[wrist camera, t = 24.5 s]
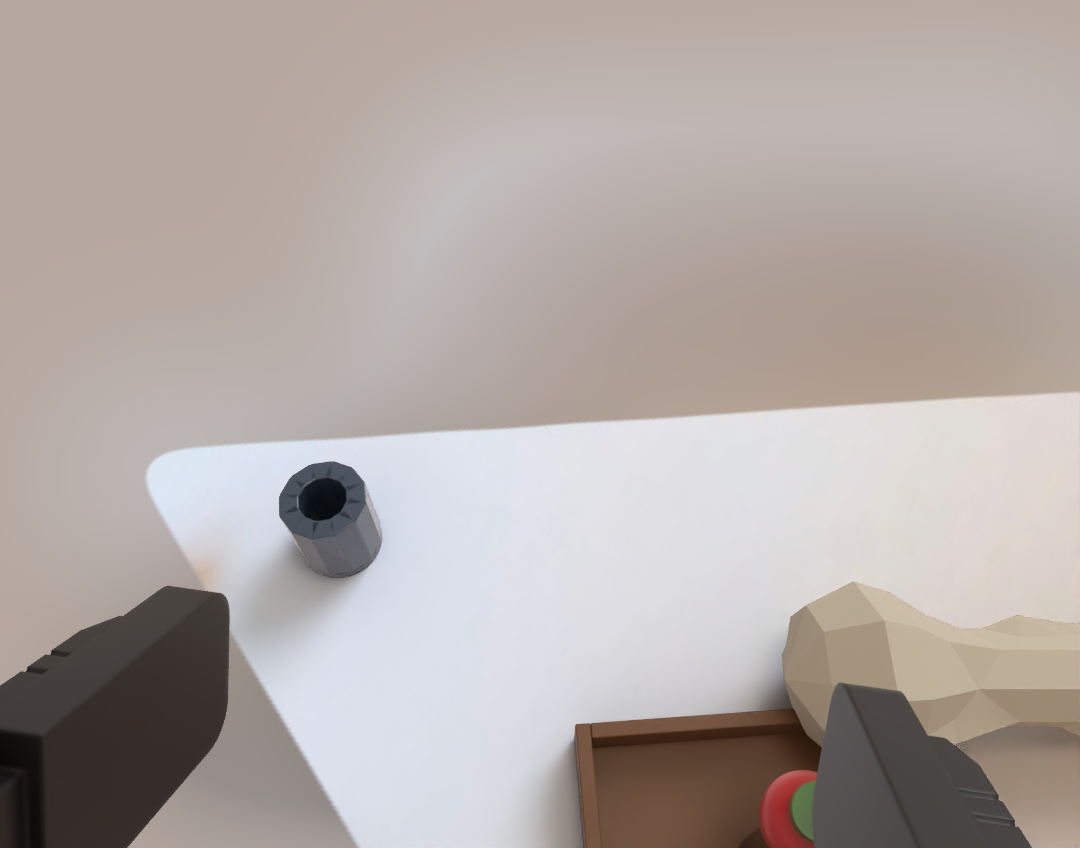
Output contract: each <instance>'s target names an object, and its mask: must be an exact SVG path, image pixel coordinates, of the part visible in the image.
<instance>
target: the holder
mask: <svg viewBox="0 0 1080 848" xmlns="http://www.w3.org/2000/svg"><path fill="white" fill-rule="evenodd" d="M279 515H280V518H281V520H282V522H283V523H284V525H285V527H286V529H287V530H288V532H289V534H290V535H291V537H292V539H293V540H294V542H295V544H296V546H297V547H298V549H299V551H300V552H301V554H302V555H303V557H304V558H305V559H306V561H307V563H308V564H309V565H310V567H311V568H313V569H314V570H315V571H316V572H318V573H320V574H322V575H325V576H328V577H346V576H350V575H353V574H355V573H358V572H360V571H361V570H363V569H364V568H366V567H367V566H368V565H369V564H370V563H371V562H372V561H373V559H374V558H375V557H376V555H377V553H378V551H379V549H380V546H381V541H382V533H381V528H380V522H379V519H378V516H377V514H376V511H375V509H374V506H373V503H372V501H371V498H370V495H369V493H368V490H367V487H366V485H365V483H364V481H363V480H362V479H361V477H360V476H359V475H358V474H357V473H356V471H355V470H354V469H353V468H352V467H349V466H346V465H343V464H340V463H337V462H334V461H333V462H331V461H330V462H324V463H317V464H311V465H308V466H307V467H305V468H304V469H302V470H301V471H299V472H298V473H296V474H294V475H293V476H292V477H291V478H290V479H289V481H288V482H287V484H286V486H285V487H284V489H283V491H282V492H281V494H280V497H279Z"/></svg>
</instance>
